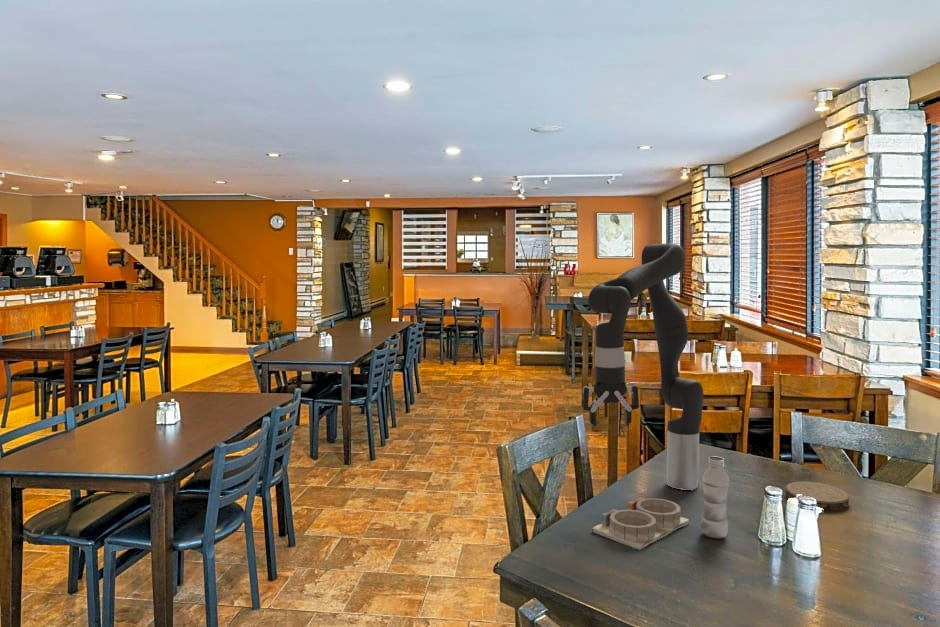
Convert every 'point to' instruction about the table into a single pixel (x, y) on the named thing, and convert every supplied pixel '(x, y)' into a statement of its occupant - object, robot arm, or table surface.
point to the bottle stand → (642, 521)
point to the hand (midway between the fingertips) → (610, 425)
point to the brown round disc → (820, 494)
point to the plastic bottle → (715, 499)
